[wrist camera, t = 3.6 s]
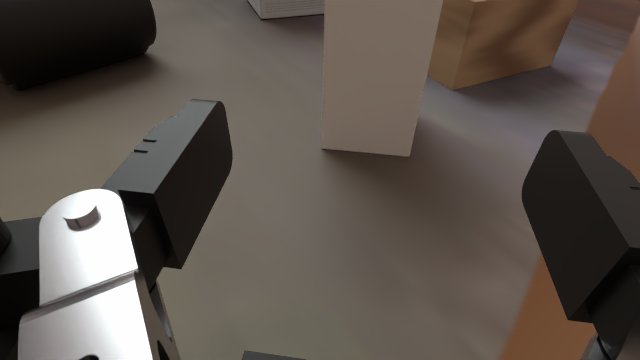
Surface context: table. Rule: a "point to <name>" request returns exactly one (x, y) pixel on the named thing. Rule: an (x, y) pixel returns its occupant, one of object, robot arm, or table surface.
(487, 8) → the oak box
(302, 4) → the supplement box
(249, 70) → the table surface
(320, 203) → the table surface
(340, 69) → the cream carton
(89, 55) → the end cap
